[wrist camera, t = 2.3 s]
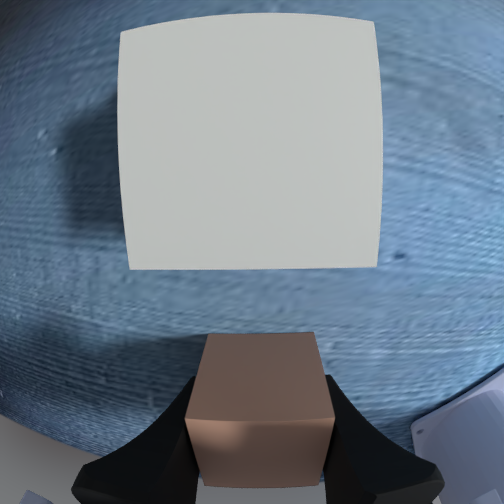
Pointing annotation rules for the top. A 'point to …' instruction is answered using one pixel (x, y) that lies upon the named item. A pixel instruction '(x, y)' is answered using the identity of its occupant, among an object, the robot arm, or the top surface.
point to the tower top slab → (251, 142)
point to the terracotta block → (260, 411)
